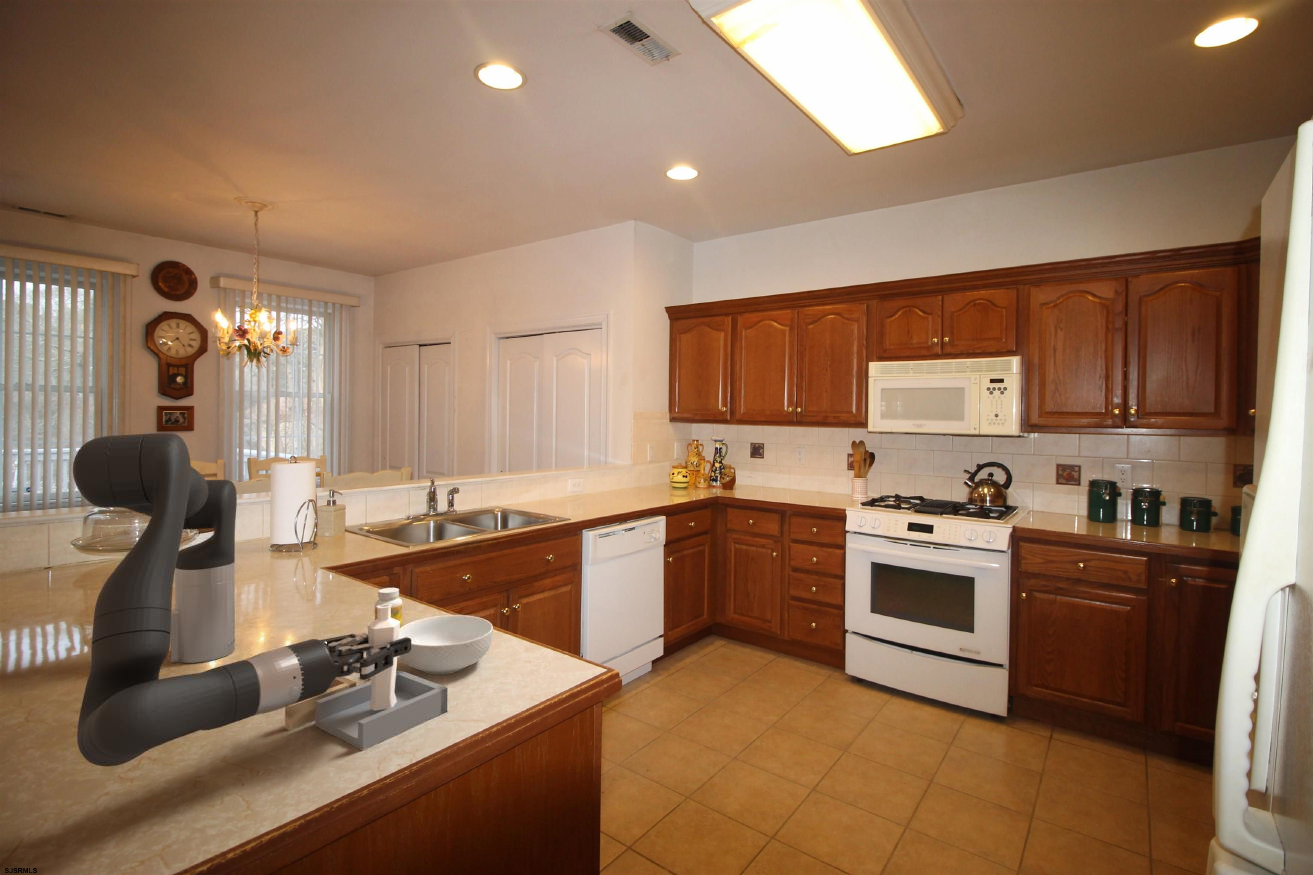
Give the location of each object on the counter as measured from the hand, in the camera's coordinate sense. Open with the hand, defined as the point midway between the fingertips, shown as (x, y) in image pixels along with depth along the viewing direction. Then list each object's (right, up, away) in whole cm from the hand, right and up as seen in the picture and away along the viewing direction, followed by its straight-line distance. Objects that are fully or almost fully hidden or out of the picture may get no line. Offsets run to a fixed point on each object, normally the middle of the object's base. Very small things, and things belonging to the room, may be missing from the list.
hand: (399, 640), depth 96 cm
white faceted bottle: (-2, -9, -2) cm, 10 cm away
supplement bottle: (-16, -10, +34) cm, 39 cm away
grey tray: (-2, -11, -2) cm, 11 cm away
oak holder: (-16, -11, +1) cm, 19 cm away
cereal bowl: (+1, -11, +18) cm, 22 cm away
